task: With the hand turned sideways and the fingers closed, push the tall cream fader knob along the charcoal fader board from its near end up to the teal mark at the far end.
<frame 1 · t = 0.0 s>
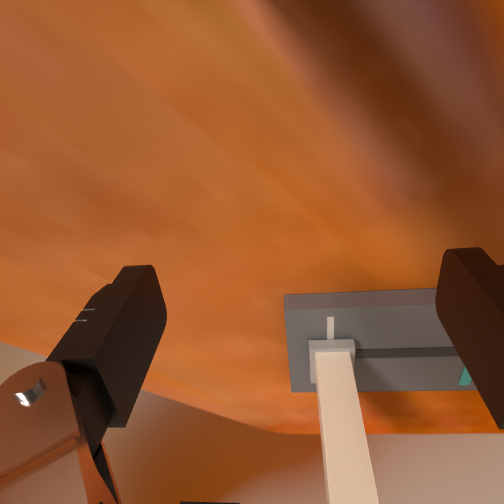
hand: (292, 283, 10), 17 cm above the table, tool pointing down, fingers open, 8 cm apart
fader knob: (340, 423, 29), point 9 cm above the table, slide at 0.0 cm
fader board: (400, 336, 35), on the table
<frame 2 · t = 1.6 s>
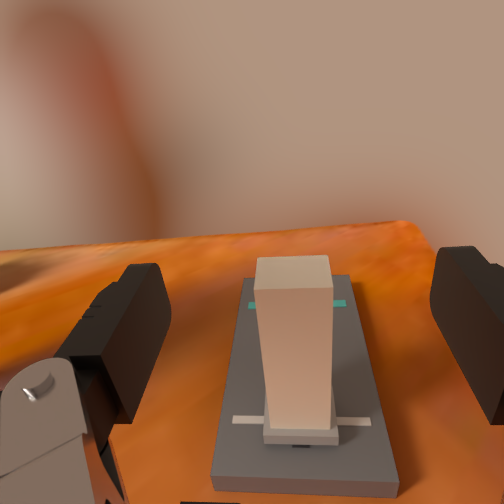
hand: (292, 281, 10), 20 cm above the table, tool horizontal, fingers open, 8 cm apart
fader knob: (296, 355, 23), point 9 cm above the table, slide at 0.0 cm
fader board: (298, 364, 34), on the table
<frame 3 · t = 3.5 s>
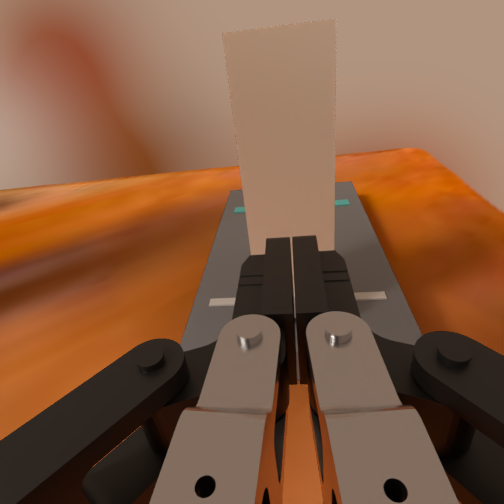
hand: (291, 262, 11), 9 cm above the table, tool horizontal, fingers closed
fader knob: (288, 185, 17), point 9 cm above the table, slide at 0.0 cm
fader board: (293, 262, 28), on the table
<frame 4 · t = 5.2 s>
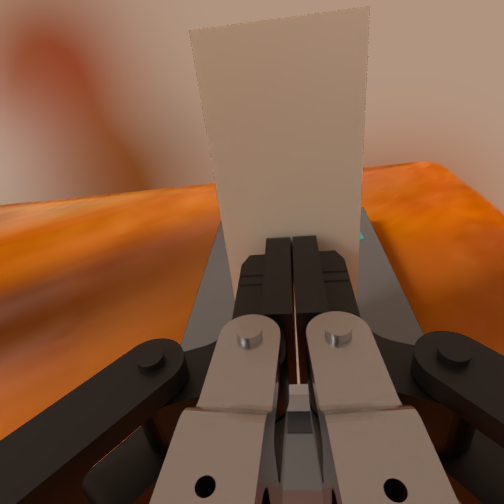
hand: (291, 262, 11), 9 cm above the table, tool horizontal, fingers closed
fader knob: (291, 241, 13), point 9 cm above the table, slide at 0.7 cm, touching gripper
fader board: (297, 316, 22), on the table
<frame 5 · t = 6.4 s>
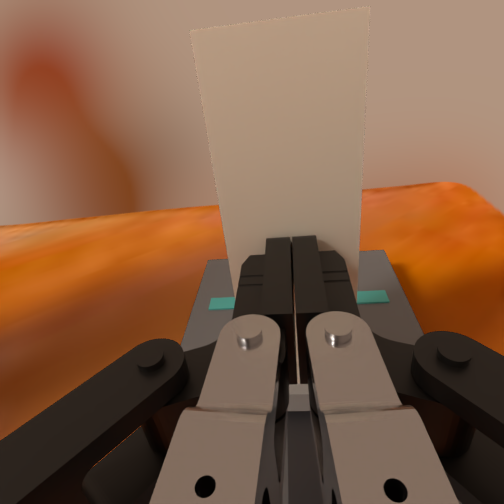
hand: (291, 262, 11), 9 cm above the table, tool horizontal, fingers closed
fader knob: (291, 241, 13), point 9 cm above the table, slide at 7.7 cm, touching gripper
fader board: (302, 418, 17), on the table
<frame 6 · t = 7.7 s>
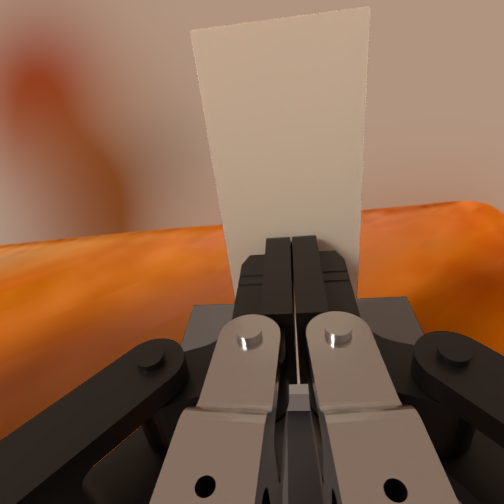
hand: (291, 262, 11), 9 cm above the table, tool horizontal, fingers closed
fader knob: (291, 241, 13), point 9 cm above the table, slide at 12.7 cm, touching gripper
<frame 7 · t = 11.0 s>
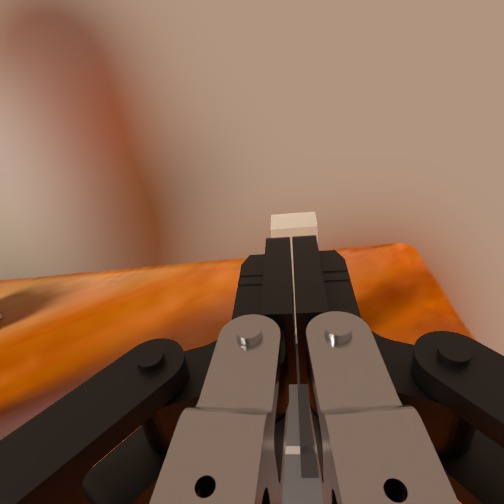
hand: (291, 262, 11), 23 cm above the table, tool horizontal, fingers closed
fader knob: (297, 280, 36), point 9 cm above the table, slide at 13.0 cm
fader board: (304, 391, 35), on the table
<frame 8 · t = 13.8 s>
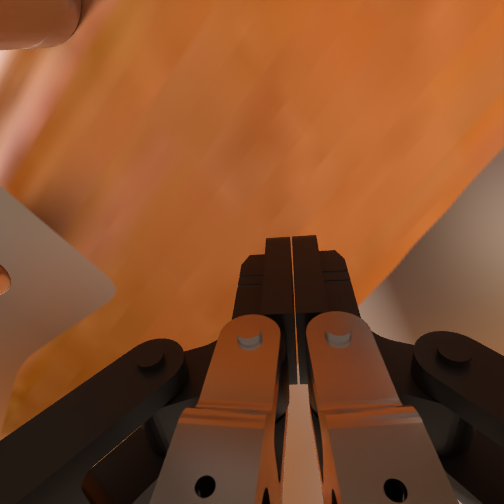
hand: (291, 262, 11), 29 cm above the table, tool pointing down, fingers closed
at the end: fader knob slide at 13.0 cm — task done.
